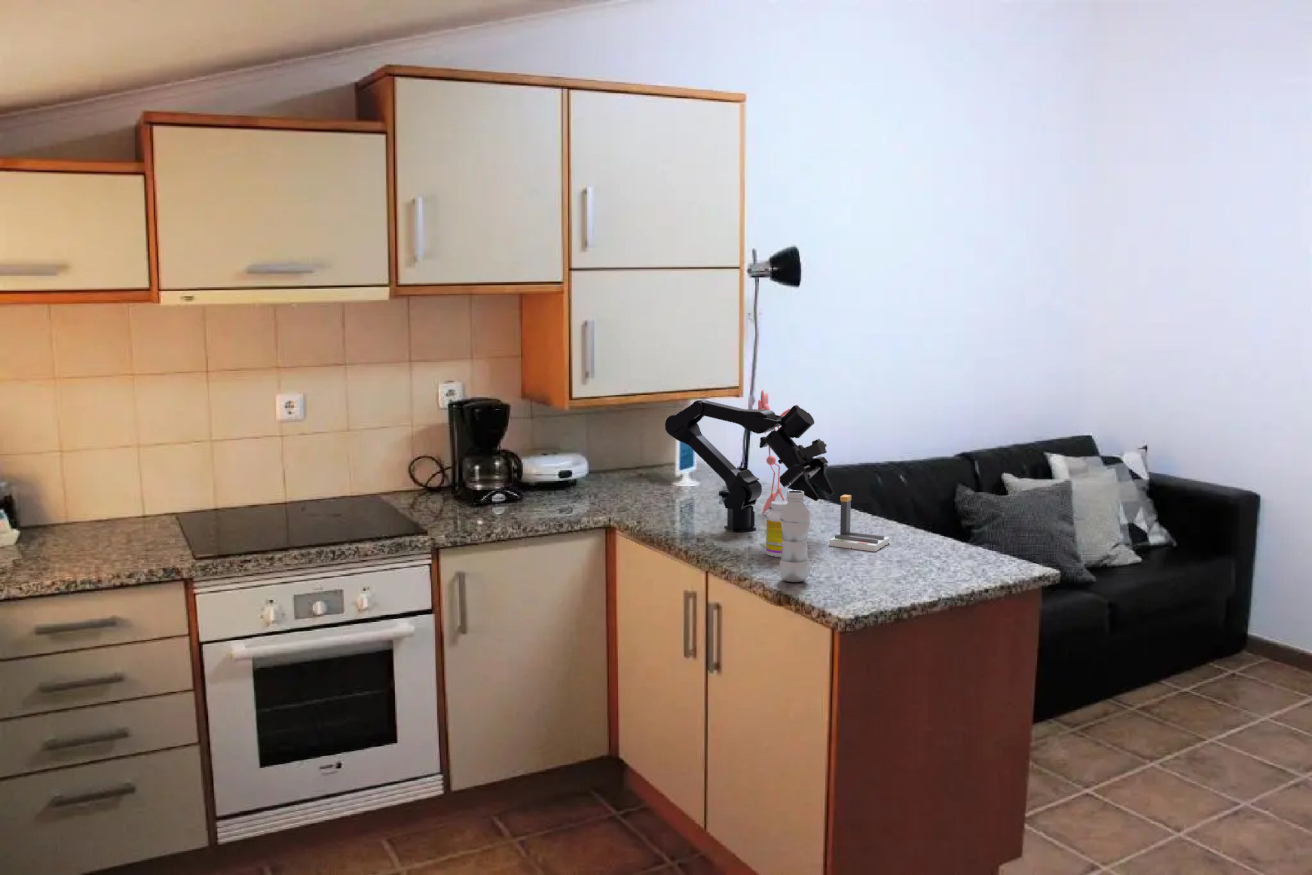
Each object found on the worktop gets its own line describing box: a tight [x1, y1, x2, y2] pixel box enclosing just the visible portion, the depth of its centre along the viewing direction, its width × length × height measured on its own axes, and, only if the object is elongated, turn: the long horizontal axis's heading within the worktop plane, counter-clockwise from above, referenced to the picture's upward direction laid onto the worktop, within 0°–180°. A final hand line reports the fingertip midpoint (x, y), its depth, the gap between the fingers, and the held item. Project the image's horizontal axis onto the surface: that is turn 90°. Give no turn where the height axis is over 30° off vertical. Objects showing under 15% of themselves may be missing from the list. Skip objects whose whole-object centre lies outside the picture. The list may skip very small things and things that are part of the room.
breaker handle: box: [839, 494, 852, 535], centre depth 278 cm, size 2×3×10 cm, turn 149°
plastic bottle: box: [778, 489, 812, 583], centre depth 242 cm, size 6×7×20 cm
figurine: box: [757, 388, 791, 515], centre depth 317 cm, size 15×26×35 cm, turn 162°
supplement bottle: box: [765, 500, 788, 558], centre depth 266 cm, size 7×7×13 cm
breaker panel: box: [828, 530, 890, 552], centre depth 277 cm, size 12×10×2 cm
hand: (825, 496), depth 280 cm, fingers open, 9 cm apart
